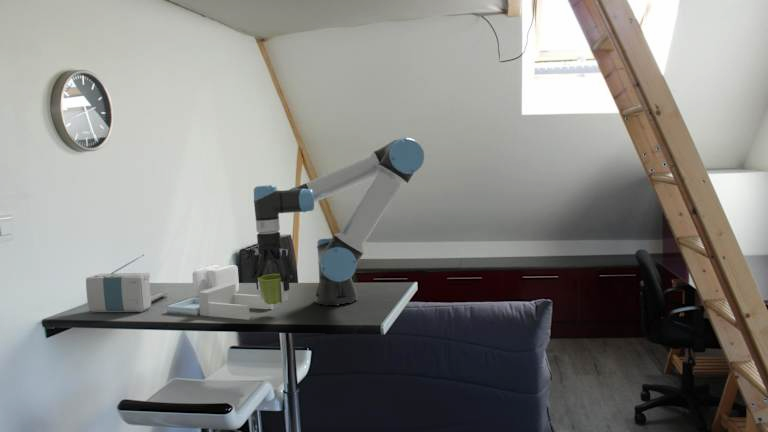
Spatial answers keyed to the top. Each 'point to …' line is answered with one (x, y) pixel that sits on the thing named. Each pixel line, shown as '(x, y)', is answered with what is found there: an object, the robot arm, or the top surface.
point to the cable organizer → (214, 278)
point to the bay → (229, 302)
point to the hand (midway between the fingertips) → (273, 299)
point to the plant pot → (271, 288)
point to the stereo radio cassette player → (118, 292)
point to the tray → (185, 307)
